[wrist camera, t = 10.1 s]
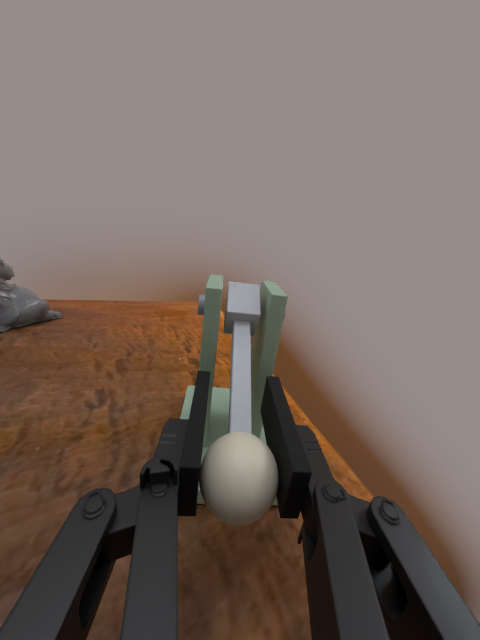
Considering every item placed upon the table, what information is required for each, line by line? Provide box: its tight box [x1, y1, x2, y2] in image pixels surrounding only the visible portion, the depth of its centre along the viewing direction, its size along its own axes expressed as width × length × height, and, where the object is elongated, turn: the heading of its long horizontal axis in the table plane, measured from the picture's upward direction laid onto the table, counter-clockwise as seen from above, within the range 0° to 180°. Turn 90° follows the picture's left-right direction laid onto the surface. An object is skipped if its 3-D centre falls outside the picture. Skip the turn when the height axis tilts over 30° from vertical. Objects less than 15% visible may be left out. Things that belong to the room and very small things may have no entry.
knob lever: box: [199, 282, 279, 526], centre depth 14 cm, size 13×4×4 cm
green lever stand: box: [180, 274, 288, 505], centre depth 19 cm, size 11×8×14 cm
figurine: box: [0, 258, 62, 332], centre depth 36 cm, size 8×10×11 cm
